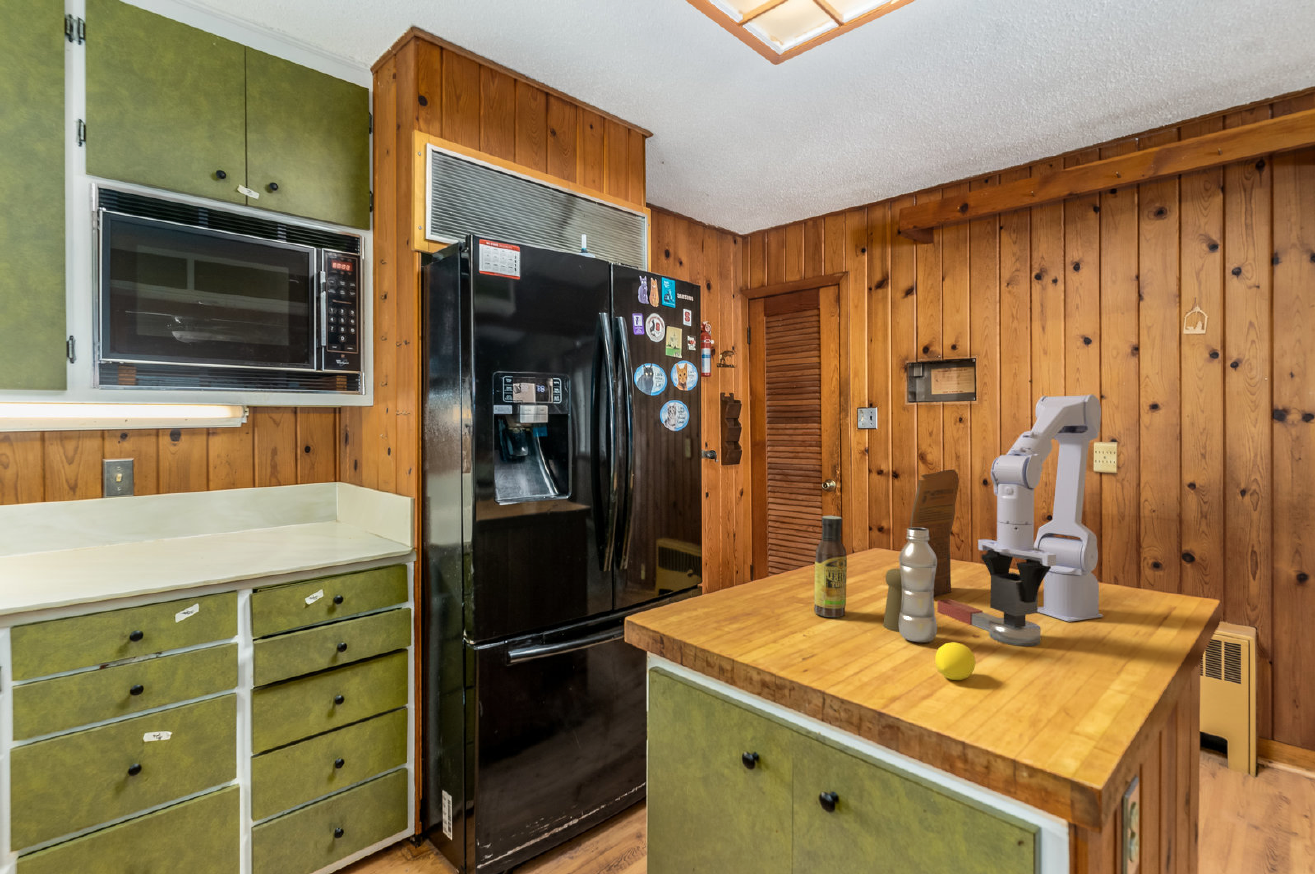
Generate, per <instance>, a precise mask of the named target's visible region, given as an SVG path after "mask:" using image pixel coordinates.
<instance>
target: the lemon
mask: <svg viewBox="0 0 1315 874" xmlns="http://www.w3.org/2000/svg"><path fill="white" fill-rule="evenodd" d="M934 656H935V660H934V661H935V663H934V664H935V666H936V669H937V671H938V672H939V673H940V674H942V675H943V677H944V678H945V679H948V680H951V681H962V680H964V679H966V678H967V679H968V677H970V675H971V674H972V673H973V672H974V671H975V666H976V663H977V661H976V658H975V655H974V653H973V651H972V650H971V648H969V647H968V646H966V645H964V644H963V643H958V642H955V641H951V642H946V643H944V644H942V645H941V646H939V647H938V649H937V650H936V653H935V655H934Z"/></svg>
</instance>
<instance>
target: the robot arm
mask: <svg viewBox="0 0 1315 874" xmlns="http://www.w3.org/2000/svg"><path fill="white" fill-rule="evenodd" d="M1035 418H1036V421H1035V423H1034V424H1033V426H1032V428H1031V430H1028V431H1024V432H1023V433H1021V434H1020V435H1019V436H1018V438H1017V439H1016V441H1015V442H1014V444H1012V446H1011V448H1010V449H1009V450H1008V452H1007V453H1006V454H1004V455H1003V454H1001V455H999V456H998V457H996V458H994V460H993V462H992V464H991V470H990V479H991V481H992V484H993V493H994V495H995V496H996V501H997V502H996V540H992V539H987V538H984V539H983V538H982V539H978V540H977V541H978V542H977V543H978V544H977V545H978V546H977V548H978V551H982V552H983V551H984V552H985V551H986V553H985V554H981V560H982V561H983V564H985V567H987V570H988V572H989V575H990V577H991V575H995V574H1003V573H1010V568H1011V564H1012V561H1013V559H1014V558H1015V559H1020V560H1024V561H1022V562H1016V567H1017V570H1018V574H1020V578H1021V584H1022V599H1023V602H1025V603H1031V602H1035V600H1036V596H1037V593H1038V594H1039V590H1040V586H1041V584H1042V582H1043V606H1038V610H1037V613H1041V614H1043V615H1046V616H1049V617H1052V618H1056V619H1058V620H1062V621H1065V622H1075V621H1083V620H1088V619H1089V620H1090V619H1097V618H1098V619H1099V618H1103V617H1104V615H1103V614H1102V613H1099V608H1100V601H1099V599H1100V592H1099V591H1100V585H1099V581H1098V579H1097V577H1096V576H1095V574H1093V573H1092V572H1093V571H1094V570H1095V569H1096V567H1097V565H1098V564H1097V563H1098V559H1099V551H1098V538H1097V536H1096V534H1095V533H1094V532H1093V531H1092V530H1091V529H1090V528H1088V527H1087V526H1085V525H1084V524H1083V523H1082V518H1083V517H1082V516H1083V507H1084V497H1085V496H1084V495H1085V486H1086V473H1087V463H1088V451H1089V446H1090V442H1091V441H1094V440H1095V439H1097V438H1098V437H1099V435H1100V434H1099V433H1100V432H1101V431H1100V430H1101V429H1100V428H1101V418H1102V407H1101V403H1100V401H1099V398H1098V397H1097V396H1096V395H1095V394H1093V393H1092V394H1087V395H1062V396H1058V395H1057V396H1048V395H1043V396H1041V397H1040V398H1039V400H1037V403H1036V405H1035ZM1052 440H1056V441H1057V442H1058V444H1059V448H1058V459H1057V469H1056V480H1055V481H1056V482H1055V490H1054V491H1055V492H1054V502H1053V511H1052V519H1051V520H1050V521H1049V522H1046V523H1045V524H1043V525H1041V526H1039V528H1038V530H1037V534H1036V539H1035V538H1034V537H1035V535H1034V534H1035V532H1034V531H1035V530H1034V529H1035V521H1034V520H1035V517H1034V516H1035V489H1036V488H1037V487H1038V486H1039V484H1040V480H1041V475H1042V472H1043V469H1044V467H1043V464H1044V462H1045V461H1046V459H1047V458H1048V456H1049V455H1050V454H1051V453H1052V451H1053V443H1052ZM1060 536H1062V537H1060ZM1063 536H1066V537H1063ZM1068 537H1074V538H1068ZM1076 538H1077V539H1076ZM1078 538H1079V539H1078ZM1034 540H1035V541H1034Z"/></svg>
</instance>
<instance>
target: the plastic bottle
mask: <svg viewBox="0 0 1315 874" xmlns="http://www.w3.org/2000/svg"><path fill="white" fill-rule="evenodd" d="M905 537H906V538H905V539H906V540H907V543H905V544H904V546H903V547H902V549H901V551H899V555H898V563H899V565H898V566H899V569H900V572H901V582H902V601H901V612H900V615H899V622H898V626H899V632H898V633H900V635H901V637H902V638H903V639H906V640H907V641H911V642H914V643H929V642H932V641H933V640H934V639H935V638H936V636H937V631H938V624H937V618H936V613H935V612H936V611H935V600H934V597H933V594H934V591H933V590H934V579H935V573H936V566H937V558H936V555H935V553H934V551H933V550H932V548H931V547H930V546H929V544H928V542H927V541H928V540H929V531H928V529H926V528H918V527H911V528H910V527H907V528H906V536H905Z"/></svg>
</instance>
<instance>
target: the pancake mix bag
mask: <svg viewBox="0 0 1315 874" xmlns="http://www.w3.org/2000/svg"><path fill="white" fill-rule="evenodd" d="M959 480H960V479H959V474H958V472H957V471H956V470H955V469H947V470H939V471H938V472H935V473H934V472H933V473H926V474H922V475H920V479H919V480H918V484H917V485H918V486H917V490H916V492H915V499H914V501H913V505H912V506H913V507H912V510H911V516H910V522H909V528H911V527H918V528H926V529H928V531H929V540H928V541H927V542H928V544H929V546H930V547H931V548H932V550H933V551H934V553H935V555H936V558H937V566H936V573H935V579H934V590H933V591H934V594H933V598H934V597H937V596H940V595H945V594H947V593H952V579H951V577H952V576H951V575H952V573H951V570H952V569H951V568H952V567H951V534H952V528H953V526H954V521H955V515H956V504H957V503H956V502H957V497H958V492H959Z"/></svg>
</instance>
